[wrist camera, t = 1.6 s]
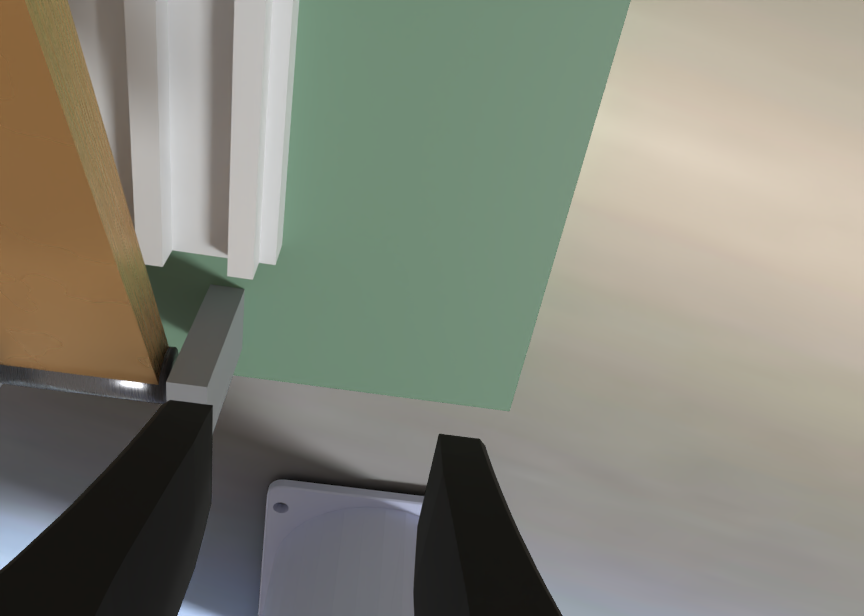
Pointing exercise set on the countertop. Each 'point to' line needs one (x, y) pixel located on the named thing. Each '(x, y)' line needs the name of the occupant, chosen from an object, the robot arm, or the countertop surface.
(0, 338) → the orange brown flat bar
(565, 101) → the board
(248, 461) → the countertop surface
